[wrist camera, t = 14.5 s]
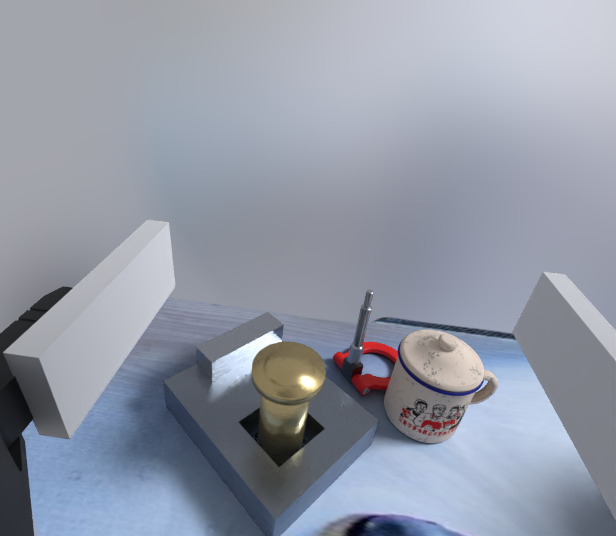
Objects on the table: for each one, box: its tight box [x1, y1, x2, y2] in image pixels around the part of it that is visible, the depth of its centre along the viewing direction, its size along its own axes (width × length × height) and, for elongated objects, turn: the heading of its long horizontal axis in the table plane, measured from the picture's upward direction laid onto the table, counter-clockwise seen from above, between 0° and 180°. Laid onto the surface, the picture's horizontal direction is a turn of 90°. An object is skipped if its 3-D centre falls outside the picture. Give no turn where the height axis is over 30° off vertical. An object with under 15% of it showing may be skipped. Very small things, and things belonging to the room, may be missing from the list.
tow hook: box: [333, 290, 398, 395], centre depth 47 cm, size 8×13×9 cm
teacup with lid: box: [384, 330, 498, 443], centre depth 43 cm, size 12×9×12 cm
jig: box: [163, 312, 379, 536], centre depth 40 cm, size 18×14×6 cm
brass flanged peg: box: [251, 342, 326, 467], centre depth 36 cm, size 6×6×12 cm
